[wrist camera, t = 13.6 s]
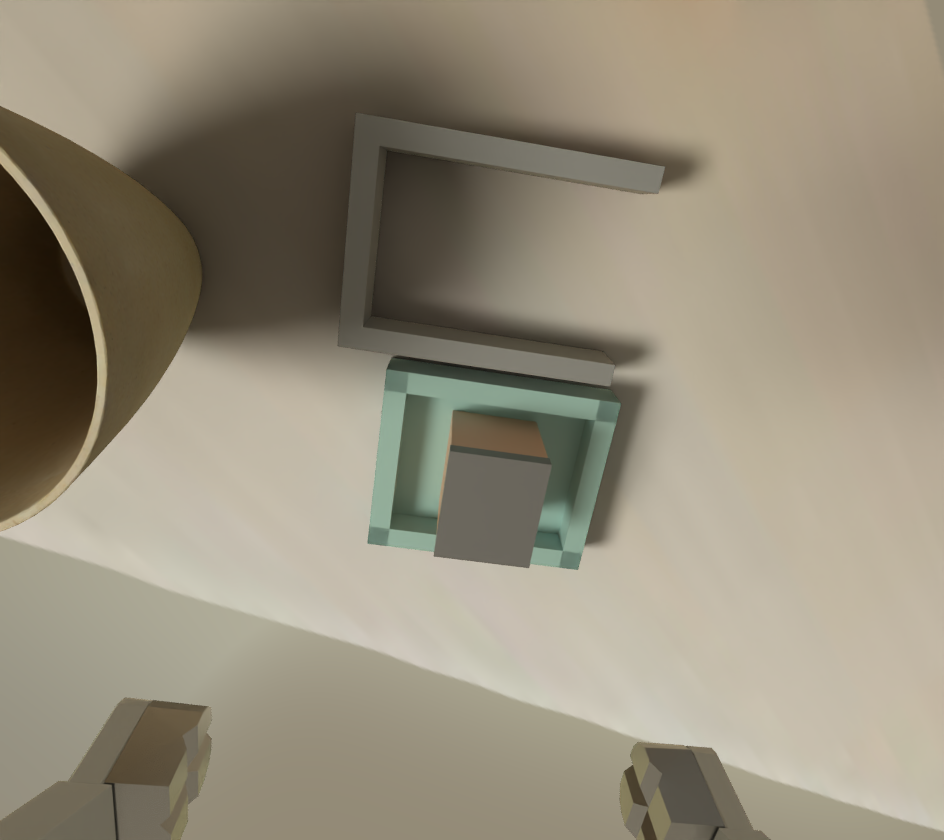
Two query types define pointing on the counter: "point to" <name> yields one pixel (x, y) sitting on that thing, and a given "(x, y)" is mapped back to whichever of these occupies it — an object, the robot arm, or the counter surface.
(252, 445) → the counter surface
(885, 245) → the counter surface
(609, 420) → the tray
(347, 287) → the bay
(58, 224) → the plant pot
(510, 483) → the orange-topped grey box
